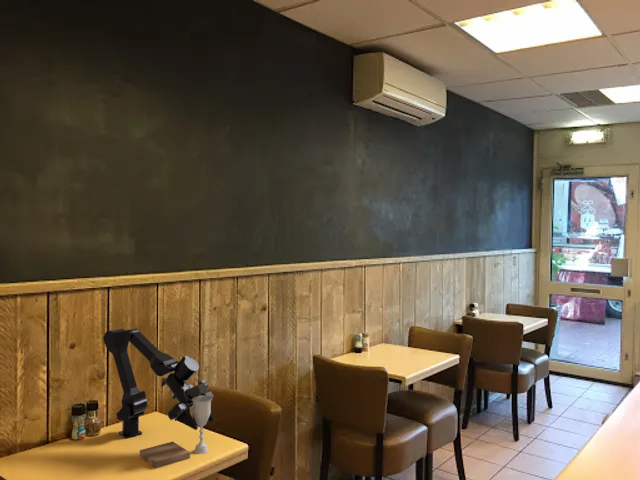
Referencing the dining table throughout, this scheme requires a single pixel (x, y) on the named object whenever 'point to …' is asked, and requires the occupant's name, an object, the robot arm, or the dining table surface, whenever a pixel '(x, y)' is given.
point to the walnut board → (164, 454)
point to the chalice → (201, 418)
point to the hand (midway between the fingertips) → (204, 425)
